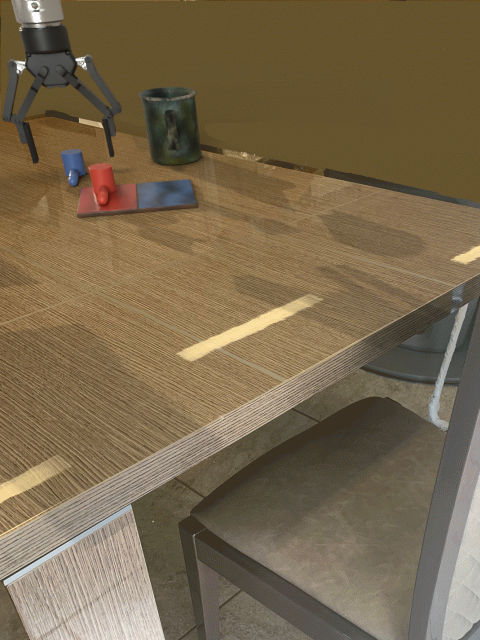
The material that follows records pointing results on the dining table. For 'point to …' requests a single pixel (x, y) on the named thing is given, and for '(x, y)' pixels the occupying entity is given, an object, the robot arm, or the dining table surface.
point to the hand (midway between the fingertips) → (74, 158)
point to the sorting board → (139, 198)
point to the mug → (171, 124)
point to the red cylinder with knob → (102, 181)
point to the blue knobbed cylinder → (73, 165)
